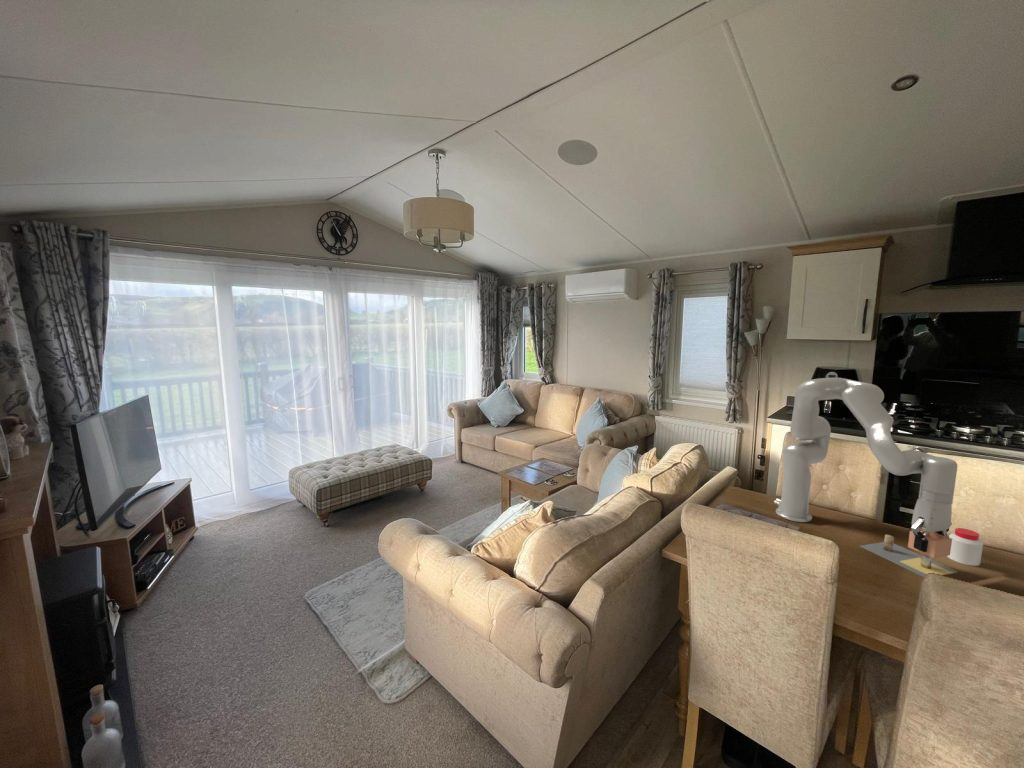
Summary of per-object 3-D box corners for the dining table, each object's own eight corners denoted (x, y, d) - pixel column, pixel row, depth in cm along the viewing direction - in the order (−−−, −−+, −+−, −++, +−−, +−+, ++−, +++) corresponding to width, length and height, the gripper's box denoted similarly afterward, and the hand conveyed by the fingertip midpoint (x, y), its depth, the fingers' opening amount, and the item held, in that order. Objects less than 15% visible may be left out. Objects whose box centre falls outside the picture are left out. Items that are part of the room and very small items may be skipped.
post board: (858, 549, 147) (860, 532, 147) (888, 544, 151) (890, 528, 150) (926, 581, 128) (928, 563, 127) (958, 575, 131) (960, 557, 131)
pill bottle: (974, 571, 134) (979, 539, 132) (941, 559, 140) (946, 529, 139) (983, 565, 137) (988, 534, 136) (950, 554, 144) (955, 524, 143)
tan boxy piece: (907, 546, 136) (909, 531, 135) (923, 544, 137) (925, 528, 137) (933, 558, 129) (936, 541, 128) (949, 555, 131) (952, 538, 130)
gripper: (940, 488, 136) (934, 539, 139) (901, 493, 132) (895, 545, 135) (970, 497, 129) (962, 550, 131) (930, 503, 125) (922, 558, 127)
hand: (928, 547), depth 133 cm, fingers closed on tan boxy piece, 7 cm apart
